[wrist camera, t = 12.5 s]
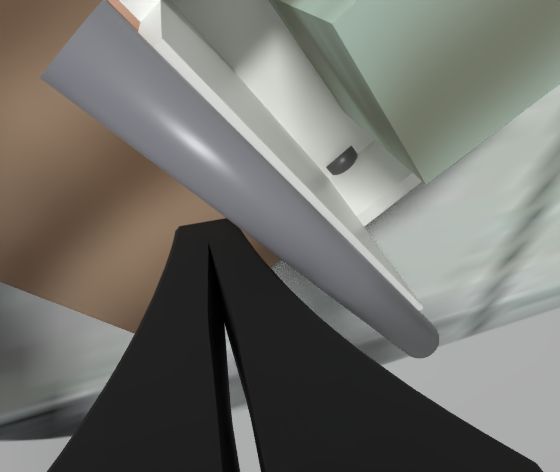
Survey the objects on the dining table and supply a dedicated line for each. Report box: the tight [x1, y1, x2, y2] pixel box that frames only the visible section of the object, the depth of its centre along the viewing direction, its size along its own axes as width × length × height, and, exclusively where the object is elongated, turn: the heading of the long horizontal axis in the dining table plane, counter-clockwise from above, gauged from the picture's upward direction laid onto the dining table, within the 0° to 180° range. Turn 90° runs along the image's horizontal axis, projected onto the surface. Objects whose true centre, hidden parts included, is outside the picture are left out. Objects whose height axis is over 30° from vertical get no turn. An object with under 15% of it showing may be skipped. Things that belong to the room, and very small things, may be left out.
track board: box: [0, 0, 280, 333], centre depth 13 cm, size 14×24×1 cm, turn 130°
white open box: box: [40, 0, 439, 358], centre depth 8 cm, size 9×10×8 cm
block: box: [269, 0, 560, 184], centre depth 9 cm, size 4×4×5 cm
